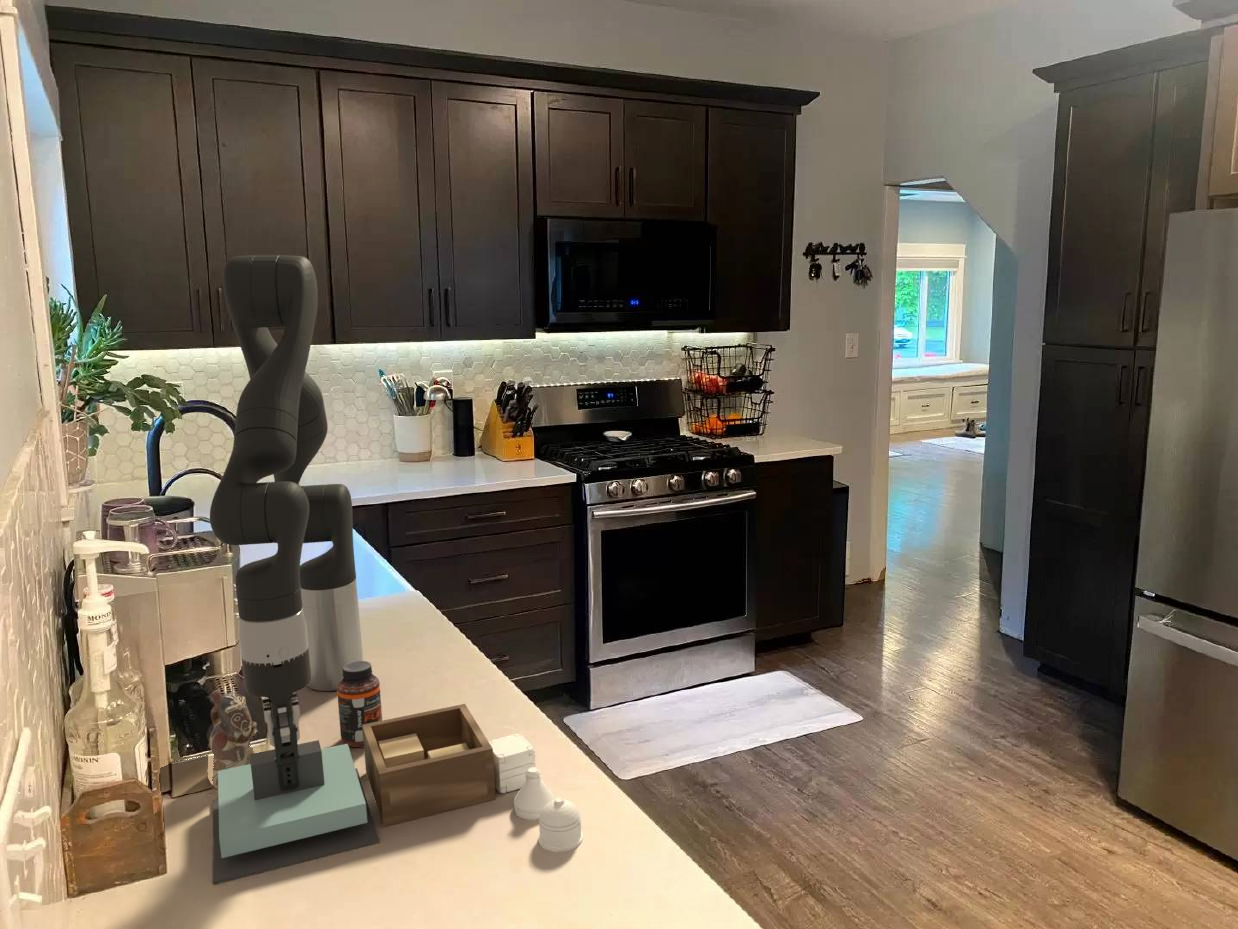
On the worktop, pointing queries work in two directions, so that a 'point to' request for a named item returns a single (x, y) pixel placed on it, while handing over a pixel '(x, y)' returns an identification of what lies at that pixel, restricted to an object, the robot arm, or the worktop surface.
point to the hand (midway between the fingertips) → (288, 781)
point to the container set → (535, 794)
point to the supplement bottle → (358, 701)
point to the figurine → (230, 732)
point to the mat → (289, 848)
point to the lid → (288, 799)
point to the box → (427, 764)
